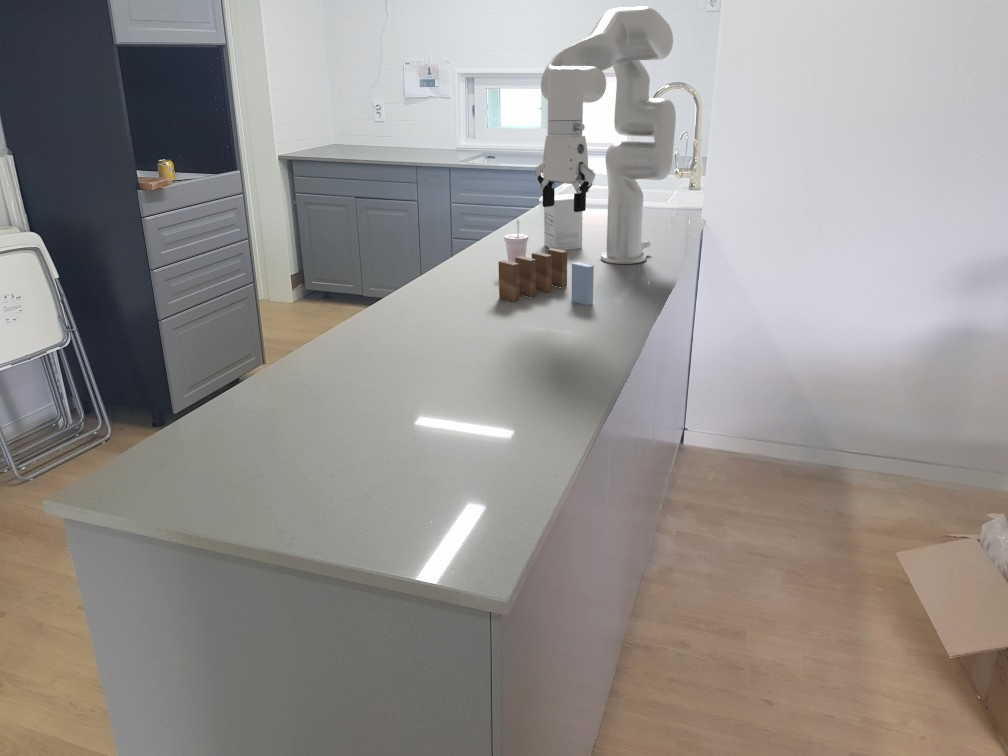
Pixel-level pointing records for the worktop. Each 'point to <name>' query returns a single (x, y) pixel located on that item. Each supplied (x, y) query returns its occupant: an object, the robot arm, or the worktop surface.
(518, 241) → the smoothie
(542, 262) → the tile
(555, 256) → the tile
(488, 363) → the worktop surface
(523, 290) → the tile
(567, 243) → the supplement box
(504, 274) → the tile
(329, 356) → the worktop surface
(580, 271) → the tile
